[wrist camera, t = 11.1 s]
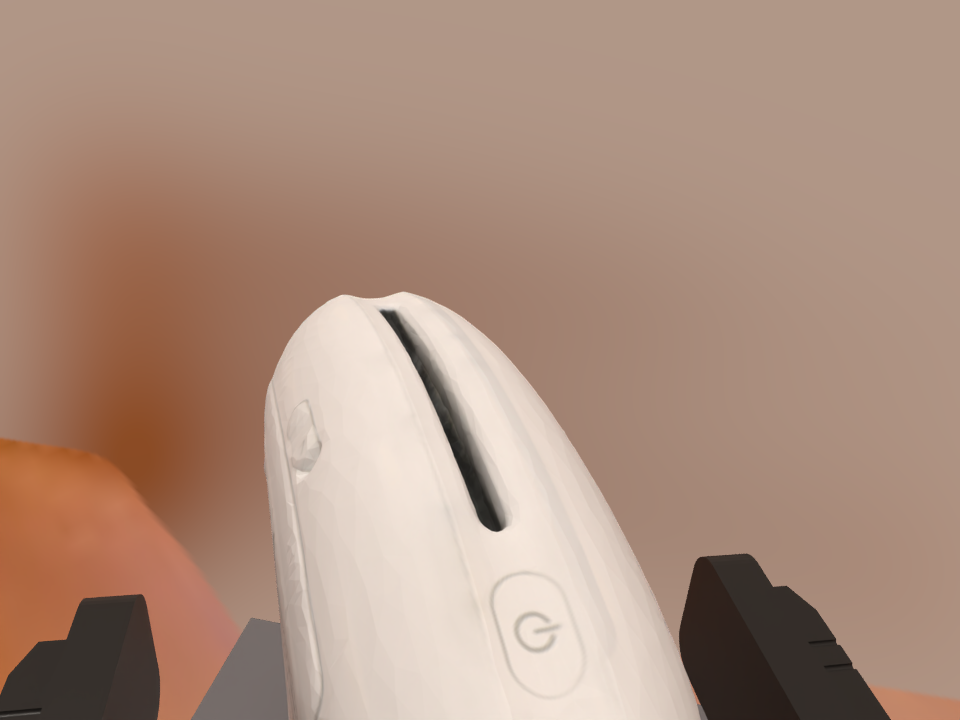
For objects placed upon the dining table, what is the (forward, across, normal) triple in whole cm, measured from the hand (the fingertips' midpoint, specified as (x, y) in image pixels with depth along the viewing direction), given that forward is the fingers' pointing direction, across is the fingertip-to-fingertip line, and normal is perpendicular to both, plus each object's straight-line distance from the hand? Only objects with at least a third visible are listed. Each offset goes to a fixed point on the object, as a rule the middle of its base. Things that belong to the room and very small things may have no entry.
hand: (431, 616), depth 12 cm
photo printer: (0, 0, +8) cm, 8 cm away
